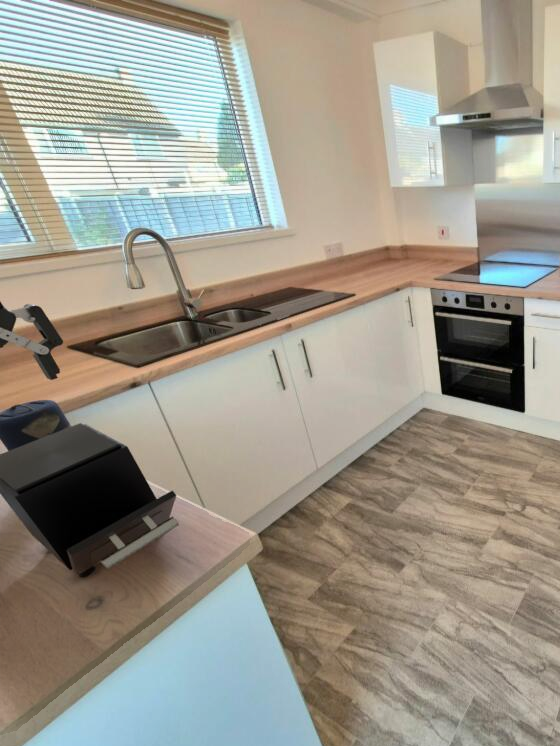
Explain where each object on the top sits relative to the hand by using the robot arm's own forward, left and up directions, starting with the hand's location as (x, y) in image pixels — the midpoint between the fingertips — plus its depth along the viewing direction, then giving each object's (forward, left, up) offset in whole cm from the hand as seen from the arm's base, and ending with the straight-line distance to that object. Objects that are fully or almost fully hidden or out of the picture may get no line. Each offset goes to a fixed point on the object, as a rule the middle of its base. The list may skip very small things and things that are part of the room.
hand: (11, 391), depth 59 cm
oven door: (+5, -3, -29) cm, 29 cm away
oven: (-3, +3, -30) cm, 30 cm away
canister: (-23, +25, -30) cm, 45 cm away
